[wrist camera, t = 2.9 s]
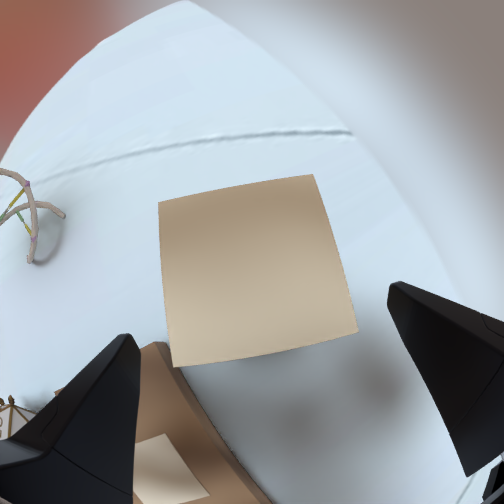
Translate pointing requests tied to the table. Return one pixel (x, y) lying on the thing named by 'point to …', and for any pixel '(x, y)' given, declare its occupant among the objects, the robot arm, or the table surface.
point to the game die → (12, 418)
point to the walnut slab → (181, 443)
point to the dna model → (30, 204)
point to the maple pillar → (251, 272)
